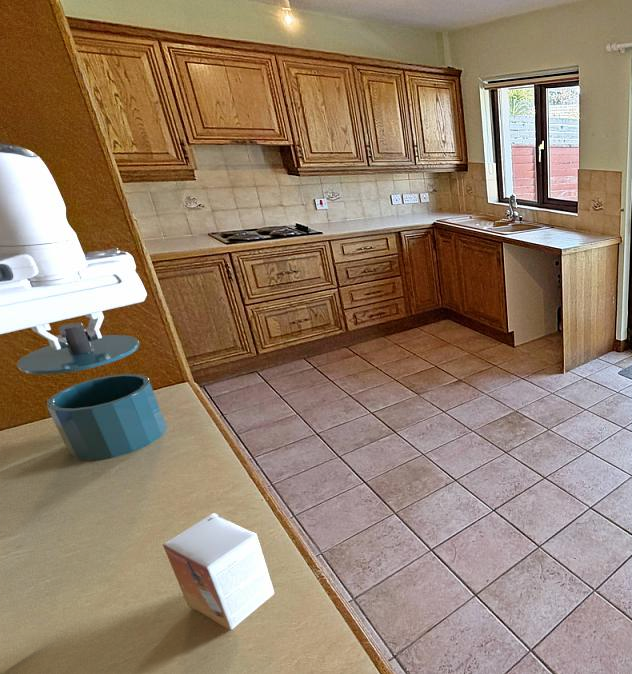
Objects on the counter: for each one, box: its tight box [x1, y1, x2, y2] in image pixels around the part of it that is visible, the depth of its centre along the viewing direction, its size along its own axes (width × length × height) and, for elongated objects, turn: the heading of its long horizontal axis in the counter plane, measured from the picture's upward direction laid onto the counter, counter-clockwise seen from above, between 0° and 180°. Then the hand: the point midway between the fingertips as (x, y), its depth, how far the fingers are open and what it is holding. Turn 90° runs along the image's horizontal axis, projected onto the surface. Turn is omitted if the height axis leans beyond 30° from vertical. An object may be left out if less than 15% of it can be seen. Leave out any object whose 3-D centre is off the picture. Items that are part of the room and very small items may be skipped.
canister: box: [46, 373, 168, 462], centre depth 84 cm, size 13×13×10 cm
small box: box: [162, 512, 275, 631], centre depth 57 cm, size 8×6×10 cm
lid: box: [16, 322, 140, 375], centre depth 76 cm, size 14×14×6 cm
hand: (77, 343), depth 76 cm, fingers closed on lid, 2 cm apart
